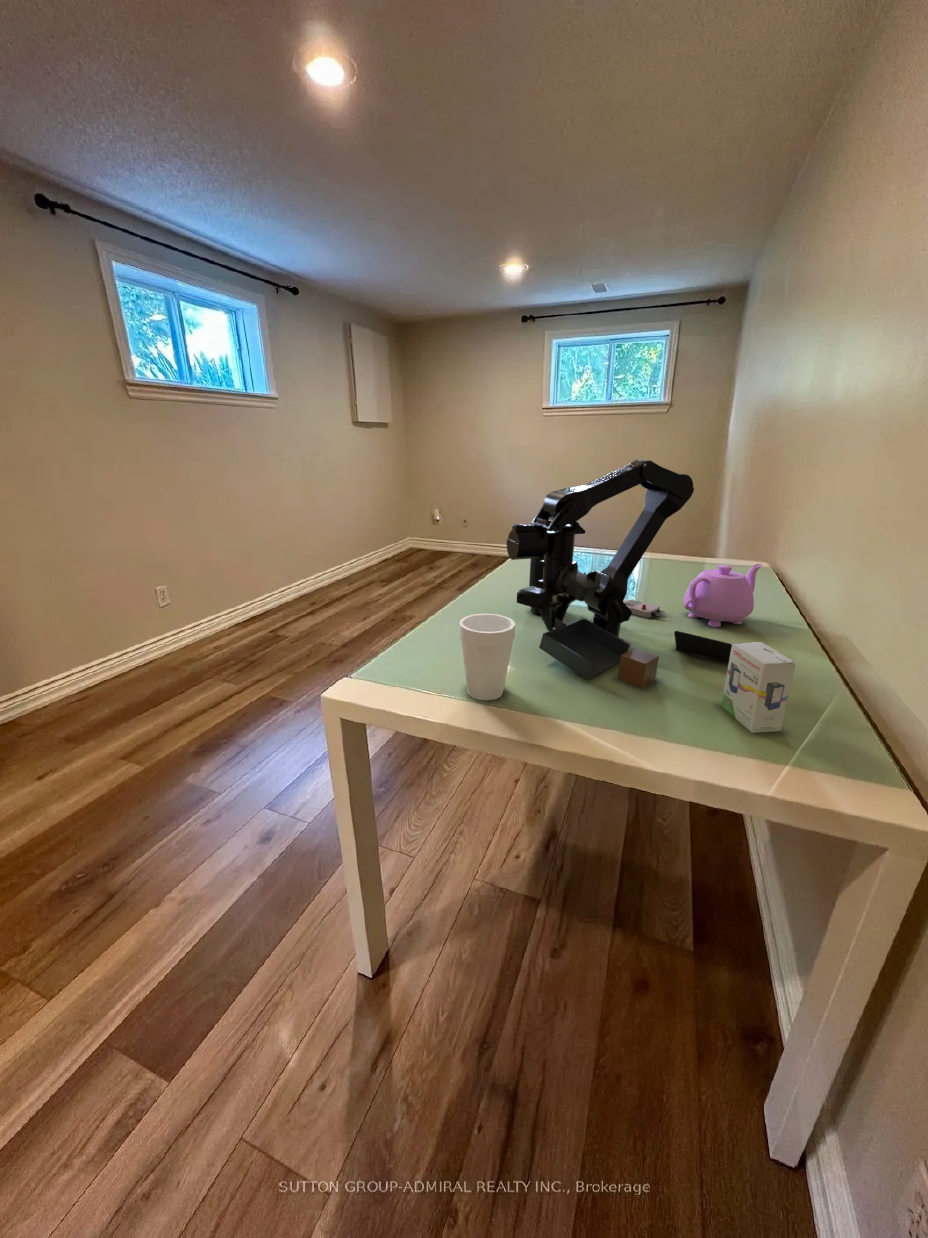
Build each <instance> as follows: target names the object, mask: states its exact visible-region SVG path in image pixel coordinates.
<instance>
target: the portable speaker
mask: <svg viewBox="0 0 928 1238" xmlns="http://www.w3.org/2000/svg"><path fill="white" fill-rule="evenodd" d="M542 560H544V555H543V556H542V557H541V558H534V559H530V565H529V580H528V582H529V583H528V587H530V586H533V587H537V588H541V589H544V588H543V587H542V586H538V581H539V580H543V568H544V567H542V566H539V561H542ZM530 613H531V614H532V615H537V614H540V612H539V610H538V609H537V608H533V607H530Z"/></svg>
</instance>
